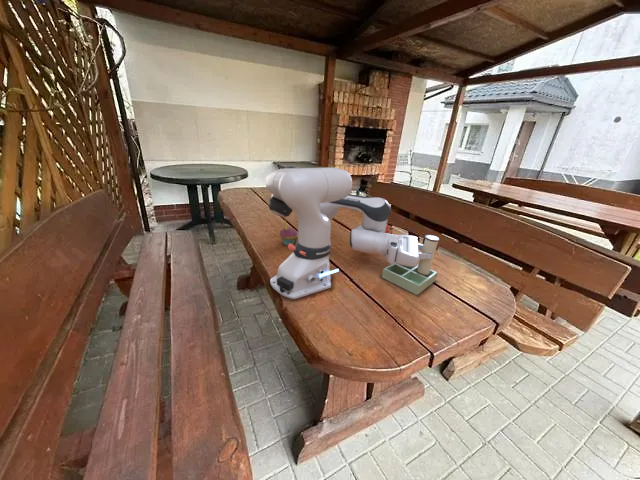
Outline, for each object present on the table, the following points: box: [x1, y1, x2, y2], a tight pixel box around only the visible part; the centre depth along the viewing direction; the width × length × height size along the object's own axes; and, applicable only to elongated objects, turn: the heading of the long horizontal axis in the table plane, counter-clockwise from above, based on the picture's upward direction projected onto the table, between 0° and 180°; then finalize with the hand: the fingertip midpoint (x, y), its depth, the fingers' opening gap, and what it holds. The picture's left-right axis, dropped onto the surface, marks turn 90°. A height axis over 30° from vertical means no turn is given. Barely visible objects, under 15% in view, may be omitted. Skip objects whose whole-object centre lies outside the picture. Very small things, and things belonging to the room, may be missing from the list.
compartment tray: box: [381, 262, 438, 296], centre depth 98 cm, size 14×14×4 cm
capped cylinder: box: [417, 234, 440, 275], centre depth 95 cm, size 5×5×14 cm
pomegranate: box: [385, 224, 394, 236], centre depth 134 cm, size 7×7×10 cm
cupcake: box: [278, 220, 298, 246], centre depth 119 cm, size 9×8×12 cm
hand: (430, 253), depth 94 cm, fingers closed on capped cylinder, 4 cm apart
